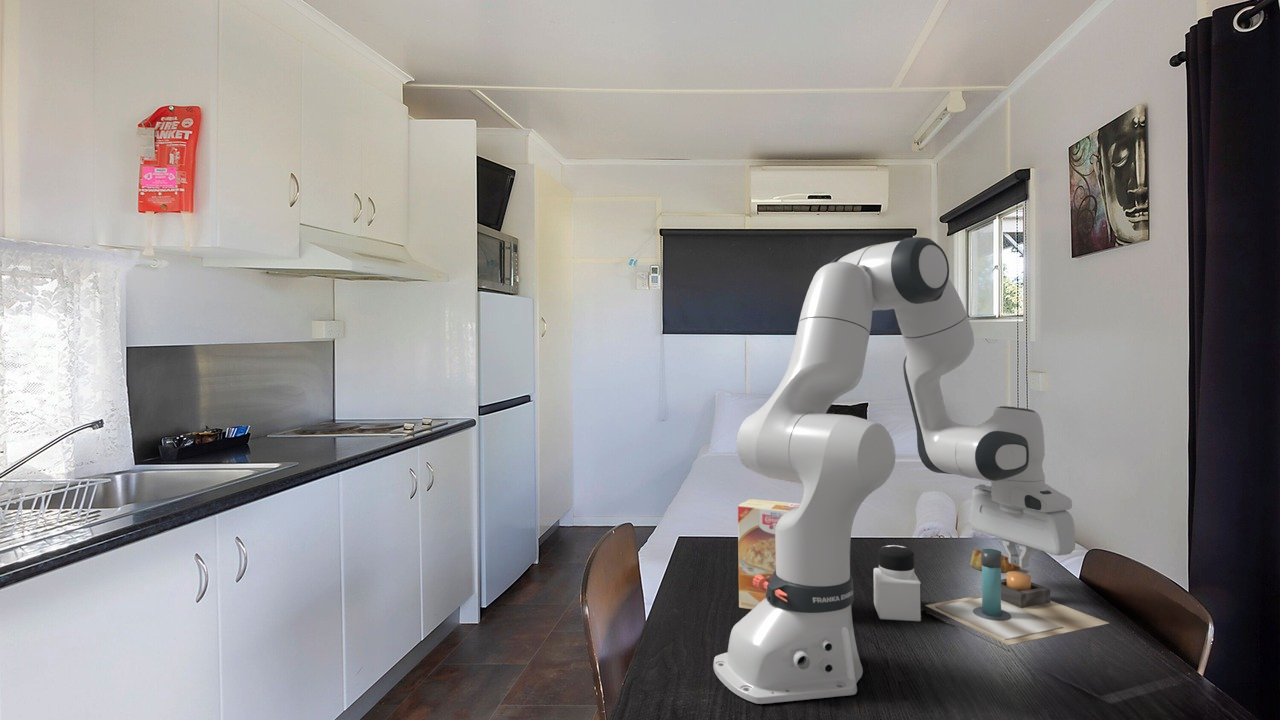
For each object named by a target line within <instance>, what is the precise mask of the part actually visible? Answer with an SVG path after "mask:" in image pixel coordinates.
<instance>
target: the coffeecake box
mask: <svg viewBox="0 0 1280 720" xmlns="http://www.w3.org/2000/svg"><path fill="white" fill-rule="evenodd" d="M800 504H801V503H797V502H787V501H774V500H768V499H767V500H765V499H756V498H755V499H754V498H747V500H745V501H744V502H741V503H739V504H738V505H737V535H738V537H737V539H738V540H737V541H738V542H737V546H738V547H737V548H738V549H737V550H738V553H737V554H738V607H739V608H741V609H747V610H752V609H754V608H755V607H756V606H757V605H758V604H759V603H760V602H761V601H762V600H763V599H764V598H765V597H766V592H767V590H765V591H761V590H760V589H759V588H756V587H755V586H754V585H753V584H754V583H753V581H754V580H753V578H755V576H756V575H762V576H763V577H764V578H767V579H768V580H769V582H770V580H771V577H772V575H773V573H774V571H775V570H776V552H775V528H776V524H777V522H778V520H779V519H780V518H781V517H782V516H783V515H784V514H785V513H786V512H788V511H789V510H791V509H793V508H795V507H798V506H800Z"/></svg>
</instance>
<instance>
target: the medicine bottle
mask: <svg viewBox="0 0 1280 720" xmlns="http://www.w3.org/2000/svg"><path fill="white" fill-rule="evenodd" d="M873 605H874V608H875V610H876V612H877V616H878V618H879V619H880V620H888V621H903V622H904V621H905V622H921V621H922V582H921V580H919V578H918V575H916V573H915V553H914V552H913V550H912V549H910V548H908V547H906V546H903V545H895V544H892V545H884V546H882V547H880V548H879V549H878V567H874V568H873Z"/></svg>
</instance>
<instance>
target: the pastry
mask: <svg viewBox="0 0 1280 720" xmlns="http://www.w3.org/2000/svg"><path fill="white" fill-rule="evenodd" d="M970 559H971V561H970V565H969V566H970V567H972V568H973V569H975V570H977V571H982V564H981V549H980V550H979V549H977V548H975V549H974V550H973V551H972V554H971V558H970ZM1010 571H1017V572H1021V567H1019V566H1016V565H1013V564H1010V563H1009V558H1008V557H1007V556H1006V555H1003V554H1002V567H1001V574H1002V573H1007V572H1010Z"/></svg>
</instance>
